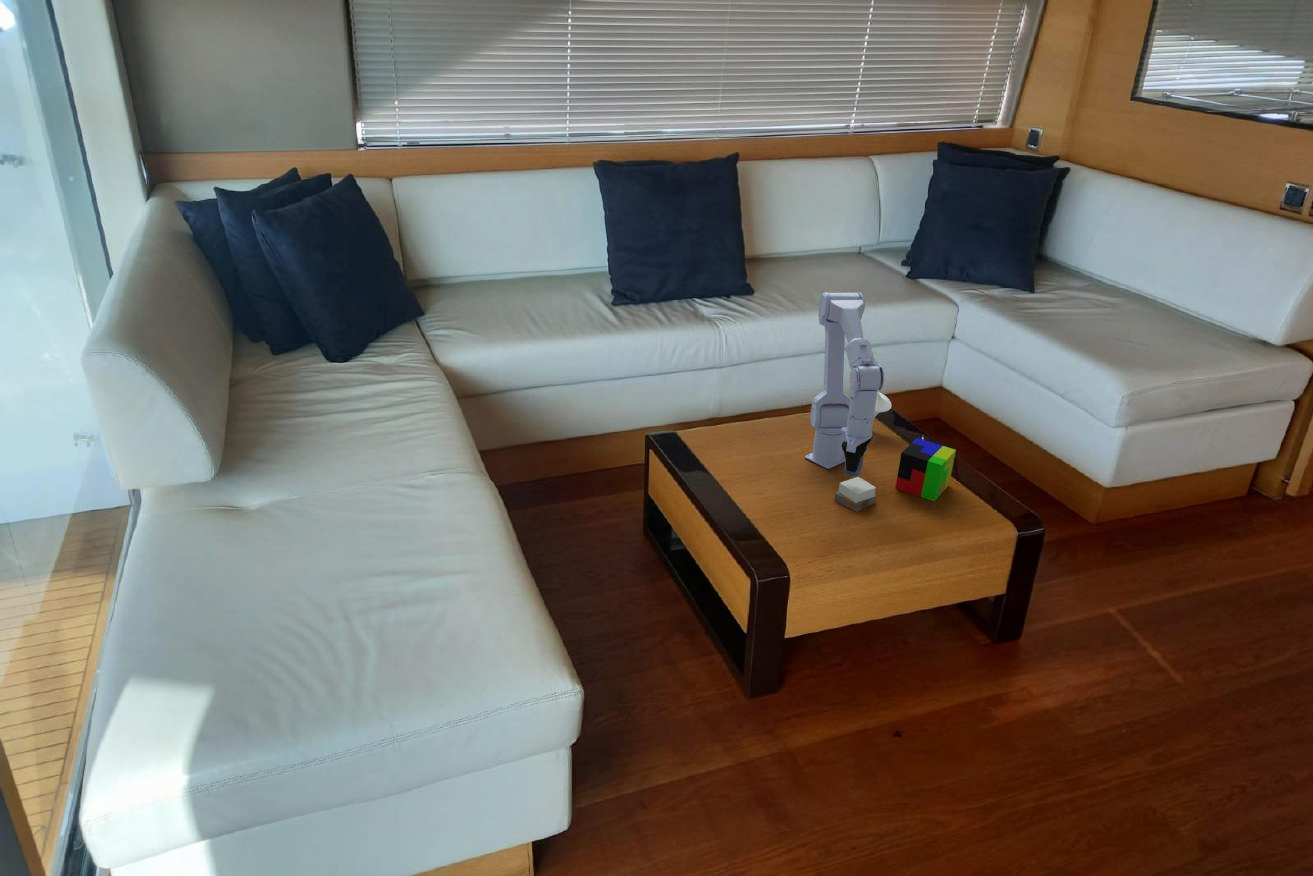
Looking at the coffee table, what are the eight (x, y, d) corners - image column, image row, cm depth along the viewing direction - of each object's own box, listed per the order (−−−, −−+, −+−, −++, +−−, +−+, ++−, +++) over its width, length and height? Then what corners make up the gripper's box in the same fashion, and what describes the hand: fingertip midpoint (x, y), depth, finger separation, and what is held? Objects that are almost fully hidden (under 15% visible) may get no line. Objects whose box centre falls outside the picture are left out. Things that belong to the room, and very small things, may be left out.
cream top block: (856, 485, 226) (858, 476, 225) (874, 496, 222) (875, 487, 221) (838, 491, 223) (839, 482, 222) (855, 503, 219) (857, 493, 218)
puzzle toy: (910, 473, 237) (916, 438, 233) (948, 485, 232) (956, 449, 228) (895, 488, 230) (901, 452, 225) (934, 501, 225) (941, 465, 220)
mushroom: (894, 431, 258) (901, 391, 253) (872, 442, 252) (878, 401, 246) (864, 418, 265) (869, 379, 260) (840, 429, 258) (846, 389, 253)
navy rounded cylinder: (850, 466, 223) (852, 451, 221) (864, 472, 221) (866, 457, 219) (840, 471, 221) (842, 456, 219) (855, 477, 218) (857, 462, 216)
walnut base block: (852, 492, 228) (853, 484, 227) (875, 504, 223) (876, 495, 222) (833, 501, 224) (835, 492, 223) (857, 514, 219) (858, 505, 218)
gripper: (851, 399, 221) (844, 450, 227) (836, 423, 209) (829, 476, 215) (880, 405, 219) (872, 456, 225) (867, 429, 207) (859, 483, 213)
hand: (853, 466), depth 220 cm, fingers closed on navy rounded cylinder, 4 cm apart
